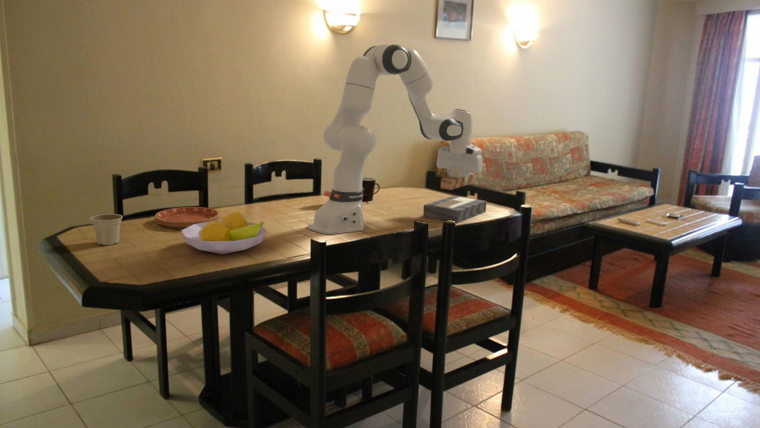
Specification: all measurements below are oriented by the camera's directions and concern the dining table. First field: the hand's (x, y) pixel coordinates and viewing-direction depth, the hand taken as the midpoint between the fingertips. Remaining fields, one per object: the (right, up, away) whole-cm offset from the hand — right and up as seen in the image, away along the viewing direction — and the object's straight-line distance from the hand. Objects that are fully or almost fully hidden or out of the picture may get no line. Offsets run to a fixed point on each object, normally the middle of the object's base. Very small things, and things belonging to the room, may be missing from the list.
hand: (457, 180), depth 242 cm
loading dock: (-1, -14, +3) cm, 15 cm away
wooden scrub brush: (0, -2, +1) cm, 2 cm away
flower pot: (-122, -24, -58) cm, 137 cm away
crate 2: (+1, +2, +1) cm, 3 cm away
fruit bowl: (-83, -26, -58) cm, 105 cm away
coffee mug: (-39, -8, +24) cm, 47 cm away
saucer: (-106, -18, -29) cm, 111 cm away
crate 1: (-1, +1, -2) cm, 3 cm away
